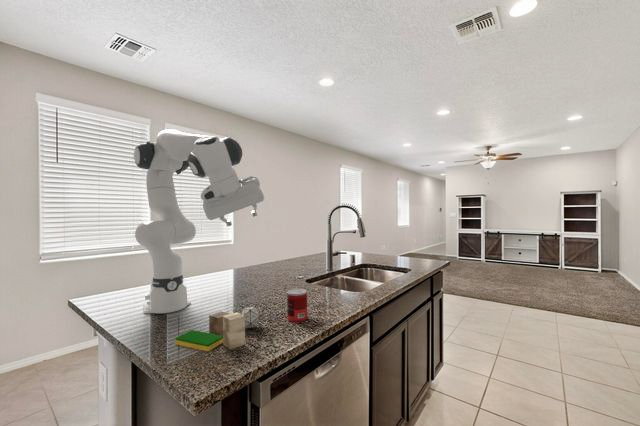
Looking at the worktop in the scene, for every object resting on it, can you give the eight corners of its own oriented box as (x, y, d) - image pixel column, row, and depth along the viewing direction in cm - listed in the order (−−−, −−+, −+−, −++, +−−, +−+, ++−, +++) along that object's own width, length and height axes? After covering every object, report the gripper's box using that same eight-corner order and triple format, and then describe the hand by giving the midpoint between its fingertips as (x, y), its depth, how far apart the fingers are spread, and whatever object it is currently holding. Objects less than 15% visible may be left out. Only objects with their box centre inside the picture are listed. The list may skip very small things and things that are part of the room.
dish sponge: (208, 352, 88) (208, 344, 88) (174, 345, 93) (174, 337, 93) (224, 343, 95) (224, 335, 95) (191, 336, 100) (191, 329, 100)
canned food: (310, 316, 117) (309, 289, 116) (302, 324, 109) (302, 294, 109) (292, 314, 119) (292, 287, 119) (284, 321, 111) (283, 293, 111)
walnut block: (209, 332, 102) (209, 315, 102) (221, 327, 107) (220, 311, 107) (218, 335, 100) (218, 318, 100) (230, 330, 104) (230, 313, 104)
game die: (252, 340, 104) (254, 324, 98) (232, 330, 106) (232, 313, 100) (265, 320, 111) (267, 304, 105) (245, 311, 113) (246, 295, 107)
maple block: (223, 344, 93) (222, 316, 93) (237, 339, 96) (237, 312, 96) (230, 349, 89) (229, 320, 89) (245, 344, 93) (244, 316, 93)
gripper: (255, 172, 101) (269, 206, 107) (198, 192, 98) (215, 227, 104) (256, 176, 95) (271, 213, 101) (195, 198, 93) (214, 234, 99)
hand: (242, 220), depth 103 cm, fingers open, 8 cm apart
